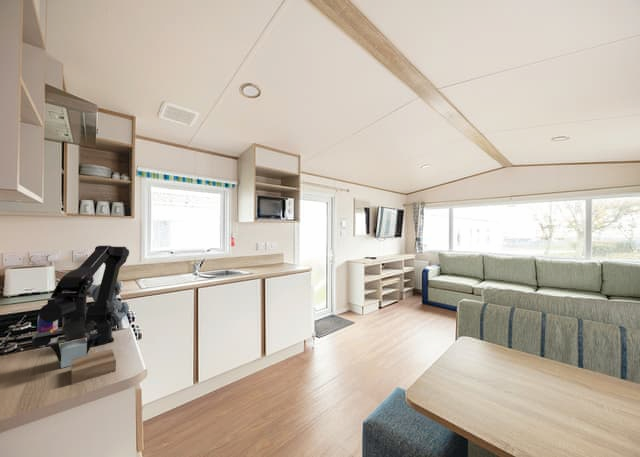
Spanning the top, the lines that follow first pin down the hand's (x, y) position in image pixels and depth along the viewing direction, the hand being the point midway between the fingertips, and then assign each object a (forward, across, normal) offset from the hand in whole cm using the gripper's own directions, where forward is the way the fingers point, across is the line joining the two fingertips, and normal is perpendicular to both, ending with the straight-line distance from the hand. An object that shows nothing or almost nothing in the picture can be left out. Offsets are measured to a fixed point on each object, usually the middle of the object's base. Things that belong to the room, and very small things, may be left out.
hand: (73, 357), depth 85 cm
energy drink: (+2, -6, +25) cm, 26 cm away
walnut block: (+2, +4, -12) cm, 13 cm away
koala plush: (+2, +13, +42) cm, 44 cm away
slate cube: (+1, 0, 0) cm, 1 cm away
